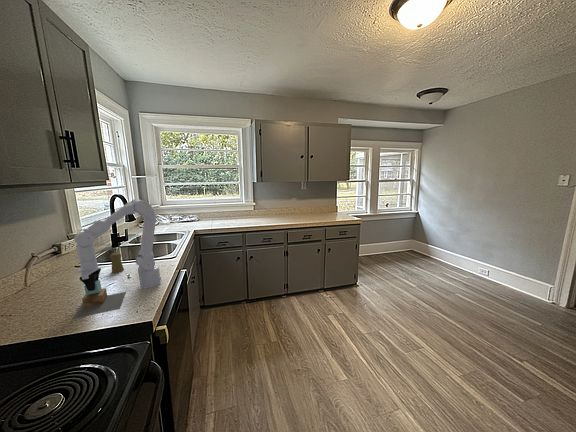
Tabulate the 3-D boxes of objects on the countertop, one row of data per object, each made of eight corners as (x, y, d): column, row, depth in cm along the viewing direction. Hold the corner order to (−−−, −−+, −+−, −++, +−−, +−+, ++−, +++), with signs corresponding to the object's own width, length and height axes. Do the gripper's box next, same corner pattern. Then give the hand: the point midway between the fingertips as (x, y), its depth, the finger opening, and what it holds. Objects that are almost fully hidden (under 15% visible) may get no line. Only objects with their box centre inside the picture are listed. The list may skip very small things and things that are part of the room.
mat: (126, 292, 117) (126, 291, 117) (119, 309, 102) (119, 308, 102) (85, 300, 110) (85, 299, 110) (72, 320, 96) (71, 319, 96)
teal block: (101, 288, 110) (99, 280, 110) (98, 292, 106) (96, 284, 105) (89, 290, 108) (87, 282, 108) (85, 294, 104) (84, 286, 104)
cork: (113, 269, 143) (110, 252, 141) (125, 268, 145) (122, 251, 143) (110, 274, 138) (107, 255, 135) (122, 272, 140) (119, 254, 137)
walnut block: (107, 295, 113) (105, 288, 112) (103, 303, 107) (102, 295, 106) (88, 299, 110) (87, 291, 109) (83, 307, 104) (82, 298, 103)
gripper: (82, 255, 109) (87, 282, 112) (69, 266, 96) (76, 297, 99) (101, 252, 112) (105, 279, 115) (91, 263, 99) (97, 293, 102)
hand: (93, 287), depth 107 cm, fingers closed on teal block, 4 cm apart
